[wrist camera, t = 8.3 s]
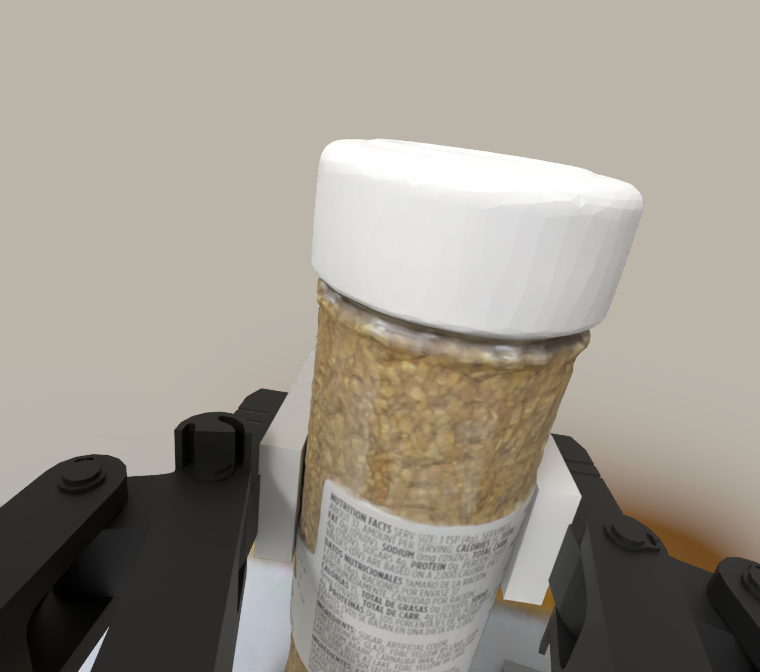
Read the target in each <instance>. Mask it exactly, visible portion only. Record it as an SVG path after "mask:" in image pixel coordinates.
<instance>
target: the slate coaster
mask: <svg viewBox="0 0 760 672" xmlns="http://www.w3.org/2000/svg"><path fill="white" fill-rule="evenodd" d="M502 672H539V671H536V670H533V669H530V668H527V667H524V666H521V665H518V664H515V663H512V662H509V661H506V660H505V661H504V664H503V667H502Z"/></svg>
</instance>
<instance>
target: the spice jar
mask: <svg viewBox="0 0 760 672" xmlns="http://www.w3.org/2000/svg"><path fill="white" fill-rule="evenodd" d="M642 209H643V200H642V197H641V194H640V192H639V191H638V190H637V189H636V188H635V187H634V186H632V185H631V184H629V183H626V182H623V181H620V180H617V179H614V178H611V177H606V176H602V175H598V174H594V173H593V172H591V171H589V170H586V169H582V168H578V167H574V166H569V165H563V164H558V163H552V162H546V161H541V160H535V159H529V158H523V157H517V156H510V155H503V154H497V153H491V152H484V151H478V150H470V149H463V148H457V147H448V146H440V145H433V144H425V143H418V142H410V141H400V140H392V139H373V140H358V139H345V140H337V141H334V142H332V143H331V144H329V145H328V146H326V148H325V149H324V151H323V152H322V154H321V158H320V163H319V170H318V180H317V190H316V200H315V212H314V226H313V242H312V243H313V244H312V255H311V261H312V266H313V268H314V270H315V272H316V273H317V275H318V276H319V279H318V289H317V293H318V298H317V301H318V303H319V305H320V307H319V312H318V334H317V345H316V350H315V362H314V376H313V381H312V397H311V402H310V417H309V424H308V441H307V450H306V455H305V465H306V468H305V472H304V485H303V492H302V506H301V511H300V515H299V519H298V524H297V532H296V545H295V554H294V566H293V578H292V593H291V607H290V621H291V628H292V632H291V645H290V653H289V658H288V661H287V664H286V668H285V672H468V670H469V668H470V665H471V663H472V660H473V657H474V655H475V652H476V649H477V647H478V644H479V641H480V639H481V636H482V633H483V630H484V628H485V625H486V622H487V620H488V617H489V614H490V612H491V609H492V606H493V604H494V601H495V598H496V595H497V593H498V590H499V587H500V585H501V582H502V579H503V576H504V573H505V571H506V568H507V565H508V563H509V560H510V558H511V555H512V552H513V549H514V546H515V543H516V540H517V537H518V535H519V532H520V529H521V527H522V524H523V521H524V519H525V516H526V513H527V511H528V508H529V505H530V503H531V500H532V497H533V494H534V491H535V488H536V483H537V469H538V467H539V465H540V463H541V461H542V457H543V453H544V448H545V446H546V443H547V441H548V439H549V435H550V430H551V428H552V425H553V423H554V420H555V418H556V414H557V411H558V408H559V405H560V403H561V400H562V398H563V395H564V393H565V390H566V388H567V385H568V383H569V380H570V378H571V375H572V372H573V364H574V362H575V360H576V357H577V356H578V355H579V354H580V353H581V352H582V351H583V350H584V349H585V348H587V346H588V344H589V342H590V331H589V329H591V328H593V327H594V326H596V325H598V324H599V323H600V322H601V321H602V320H603V319H604V318H605V317H606V314H607V312H608V310H609V307H610V305H611V302H612V299H613V297H614V294H615V291H616V288H617V286H618V283H619V280H620V278H621V275H622V272H623V269H624V266H625V263H626V260H627V257H628V255H629V252H630V248H631V245H632V242H633V239H634V236H635V233H636V229H637V227H638V223H639V220H640V217H641V213H642Z"/></svg>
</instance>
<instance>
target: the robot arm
mask: <svg viewBox="0 0 760 672" xmlns="http://www.w3.org/2000/svg"><path fill="white" fill-rule="evenodd" d="M316 345H317V343H316ZM316 345H315V347H314V349H313V350H312V352H311V354H310V356H309V357H308V360H307V361H306V363H305V365H304V367H303V368H302V370H301V372H300V374H299V375H298V377H297V379H296V381H295V382H294V384H293V386H292V388H291V389H290V391H289V393H287V392H281V391H274V390H267V389H260V390H258V391H256V392H254V393H252V394H251V395H249V396H247V397H246V398H245V399H244V401H243V402H242V404H241V405H240V406H239V408H238V410H237V411H236V412H235V413H234V414H232V413H225V412H208V413H203V414H199V415H195V416H192V417H190V418H188V419H187V420H184V421H183V422H181V423H180V424H179V425H178V427H177V428H176V429H175V430H174V434H175V435H174V436H175V471H174V472H172V473H168V474H161V475H149V476H132V477H127V472H126V465H125V464H124V463H123V462H122V461H121V460H120V459H118V458H115V457H112V456H109V455H97V454H92V455H86V456H80V457H75V458H72V459H69V460H66V461H63V462H61V463H58V464H57V465H55V466H54V467H52V468H50V469H49V470H47V471H46V472H44V473H43V474H42V475H41V476H39V477H38V478H37V479H35V480H34V481H33V482H32V483H30V484H29V485H28V486H27V487H25V488H24V489H23V490H22V491H20V492H19V493H18V494H17V495H15V496H14V497H13V498H12V499H11V500H9V501H8V502H7V503H6V504H4V505H3V506H2V507H1V508H0V672H78V671H79V669H80V668H81V666H82V665H83V663H84V662H85V660H86V659H87V658H88V656H89V655H90V653H91V652H92V650H93V649H94V647H95V646H96V645H97V643H98V642H99V640H100V639H101V637H102V636H103V634H104V633H105V631H106V630H107V629H108V627H109V629H108V631H107V633H106V636H105V638H104V640H103V643H102V645H101V648H100V650H99V652H98V655H97V657H96V659H95V662H94V664H93V667H92V669H91V671H90V672H232V667H233V660H234V654H235V647H236V640H237V634H238V627H239V620H240V614H241V607H242V600H243V594H244V587H245V580H246V572H247V556H248V554H249V552H250V549H251V547H252V545H253V543H254V540H255V551H254V557H258V558H264V559H270V560H276V561H282V562H287V563H291V562H292V558H293V555H294V552H295V545H296V532H297V524H298V519H299V515H300V511H301V506H302V492H303V485H304V472H305V468H306V465H305V455H306V450H307V441H308V424H309V417H310V402H311V397H312V381H313V376H314V362H315V350H316ZM549 584H550V588H551V591H552V594H553V597H554V600H555V607H554V609H553V612H552V615H551V617H550V620H549V622H548V625H547V628H546V630H545V633H544V635H543V638H542V641H541V643H540V648H539V653H540V654H543V655H545V652H546V650H547V647H548V645H549V644H550V654H551V672H760V564H759V563H757V562H754V561H750V560H746V559H743V558H739V557H727V558H725V559H724V560H722V561H721V562H720V563H719V564H718V566H717V568H716V570H715V572H714V574H713V573H711V572H708V571H706V570H703V569H700V568H698V567H695V566H693V565H690V564H688V563H685V562H682V561H680V560H677V559H675V558H673V557H671V556H669V555H668V552H667V550H666V548H665V546H664V545H663V543H662V542H661V540H660V538H659V537H658V536H656V534H654V533H653V532H652V531H651V530H650V529H649V528H648V527H646V526H645V525H643V524H642V523H640V522H638V521H637V520H635V519H633V518H631V517H628V516H626V515H623V513H622V511H621V510H620V508H619V506H618V504H617V503H616V501H615V499H614V498H613V496H612V494H611V493H610V491H609V489H608V487H607V486H606V484H605V482H604V481H603V479H602V478H600V474H599V472H598V470H597V469H596V467H595V466H594V463H593V462H592V460H591V458H590V456H589V455H588V453H587V451H586V450H585V449H584V448H583V447H582V446H581V445H580V444H578V443H577V442H576V441H575V440H574V439H573V438H571V437H570V436H564V435H558V434H551V433H550V435H549V439H548V441H547V443H546V446H545V448H544V453H543V457H542V461H541V463H540V465H539V467H538V469H537V483H536V488H535V491H534V494H533V497H532V500H531V503H530V505H529V508H528V511H527V513H526V516H525V519H524V521H523V524H522V527H521V529H520V532H519V535H518V537H517V540H516V543H515V546H514V549H513V552H512V555H511V558H510V560H509V563H508V565H507V568H506V571H505V573H504V576H503V579H502V582H501V589H502V594H503V599H506V600H512V601H518V602H524V603H530V604H536V605H542V602H543V600H544V597H545V594H546V591H547V589H548V586H549Z"/></svg>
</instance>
